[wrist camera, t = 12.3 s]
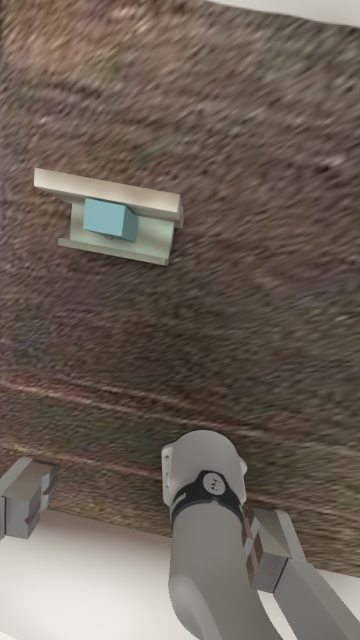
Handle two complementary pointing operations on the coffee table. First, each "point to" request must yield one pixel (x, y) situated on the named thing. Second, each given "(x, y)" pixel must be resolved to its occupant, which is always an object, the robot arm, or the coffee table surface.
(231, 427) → the coffee table surface
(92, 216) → the teal rectangular block
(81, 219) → the wall shelf
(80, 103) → the coffee table surface
